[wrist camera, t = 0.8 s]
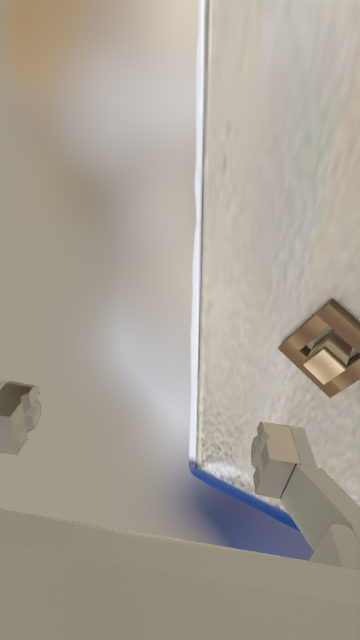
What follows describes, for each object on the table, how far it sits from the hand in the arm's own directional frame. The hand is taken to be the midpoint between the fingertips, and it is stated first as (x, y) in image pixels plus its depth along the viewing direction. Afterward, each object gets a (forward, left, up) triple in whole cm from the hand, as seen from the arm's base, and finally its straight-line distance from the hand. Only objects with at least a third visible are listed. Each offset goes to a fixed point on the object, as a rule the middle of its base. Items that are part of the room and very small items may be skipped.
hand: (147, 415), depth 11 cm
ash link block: (+13, +11, -45) cm, 48 cm away
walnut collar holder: (+13, +11, -45) cm, 48 cm away
